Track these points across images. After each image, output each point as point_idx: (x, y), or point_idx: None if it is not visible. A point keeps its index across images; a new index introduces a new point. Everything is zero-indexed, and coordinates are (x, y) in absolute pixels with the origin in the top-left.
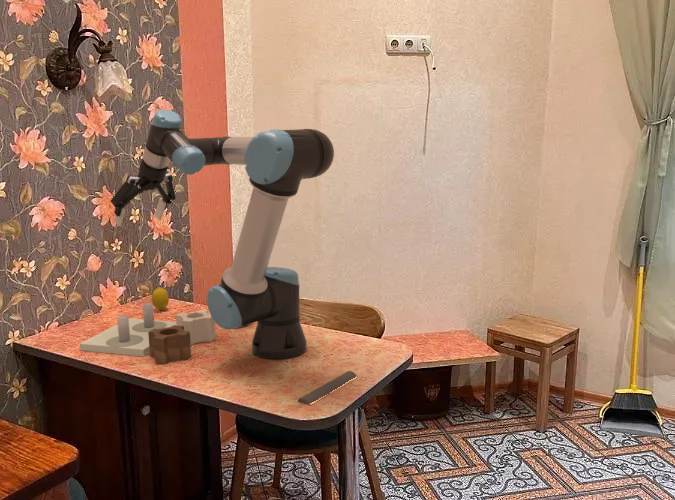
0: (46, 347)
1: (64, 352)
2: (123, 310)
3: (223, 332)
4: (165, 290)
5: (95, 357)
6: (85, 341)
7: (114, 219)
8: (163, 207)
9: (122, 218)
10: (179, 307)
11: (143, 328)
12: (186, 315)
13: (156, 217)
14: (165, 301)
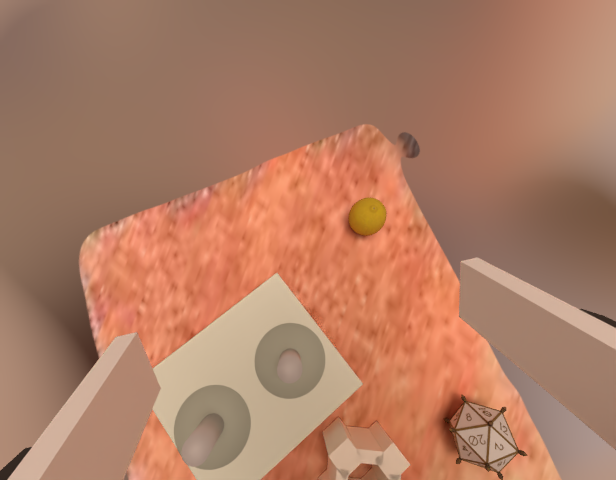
0: (102, 315)
1: None
2: (300, 181)
3: (416, 454)
4: (383, 217)
5: (148, 442)
6: None
7: (108, 348)
8: (581, 415)
9: (123, 467)
10: (397, 229)
11: (274, 366)
12: (350, 472)
13: (460, 286)
14: (371, 234)
